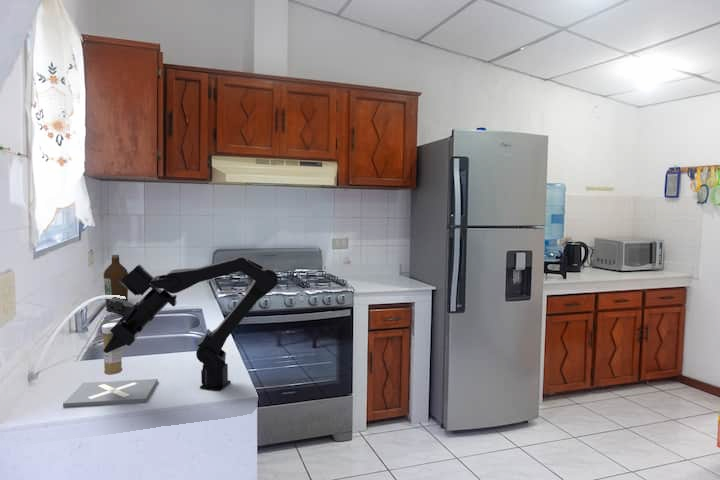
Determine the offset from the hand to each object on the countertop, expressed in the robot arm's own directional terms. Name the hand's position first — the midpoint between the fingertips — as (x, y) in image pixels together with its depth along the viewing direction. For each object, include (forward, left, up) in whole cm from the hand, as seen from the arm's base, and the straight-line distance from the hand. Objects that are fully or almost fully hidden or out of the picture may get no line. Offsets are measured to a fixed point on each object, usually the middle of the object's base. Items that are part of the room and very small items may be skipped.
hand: (107, 349), depth 133 cm
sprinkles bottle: (-1, -1, -7) cm, 7 cm away
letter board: (-1, -1, -13) cm, 13 cm away
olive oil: (+70, -91, -13) cm, 115 cm away
